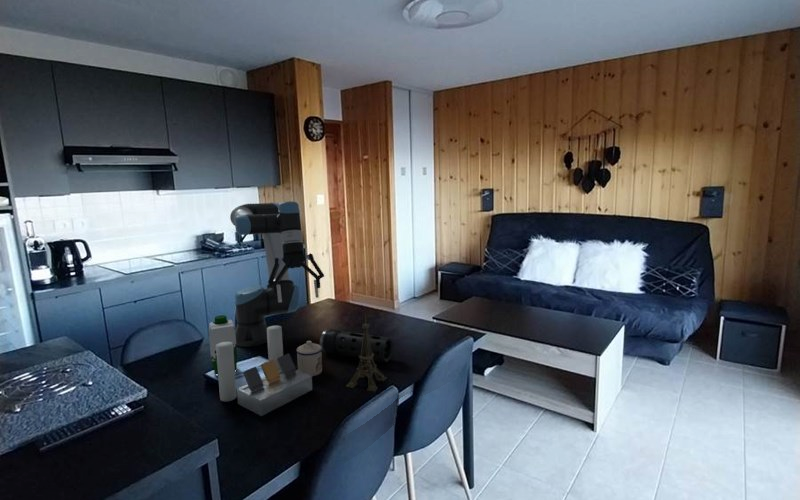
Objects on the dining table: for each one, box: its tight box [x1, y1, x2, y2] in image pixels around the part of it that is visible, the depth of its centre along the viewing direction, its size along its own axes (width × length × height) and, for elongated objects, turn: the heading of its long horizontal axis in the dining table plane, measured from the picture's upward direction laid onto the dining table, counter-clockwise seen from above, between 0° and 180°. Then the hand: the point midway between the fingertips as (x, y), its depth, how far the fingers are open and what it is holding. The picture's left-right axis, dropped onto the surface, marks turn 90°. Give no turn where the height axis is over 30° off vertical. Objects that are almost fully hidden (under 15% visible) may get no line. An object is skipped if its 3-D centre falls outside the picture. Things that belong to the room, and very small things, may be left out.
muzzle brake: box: [319, 328, 394, 364], centre depth 170 cm, size 10×28×10 cm, turn 68°
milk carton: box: [208, 315, 238, 374], centre depth 158 cm, size 9×9×20 cm
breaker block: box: [236, 369, 313, 417], centre depth 140 cm, size 12×20×5 cm, turn 143°
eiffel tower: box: [345, 312, 388, 393], centre depth 148 cm, size 11×11×25 cm
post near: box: [216, 342, 237, 402], centre depth 138 cm, size 5×5×18 cm
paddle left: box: [242, 366, 264, 392], centre depth 135 cm, size 2×4×7 cm
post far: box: [267, 325, 284, 371], centre depth 153 cm, size 5×5×18 cm
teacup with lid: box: [295, 340, 323, 377], centre depth 159 cm, size 12×9×12 cm
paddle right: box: [277, 353, 297, 376], centre depth 145 cm, size 2×4×7 cm
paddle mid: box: [260, 360, 281, 384], centre depth 140 cm, size 2×4×7 cm
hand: (298, 300), depth 160 cm, fingers open, 13 cm apart
